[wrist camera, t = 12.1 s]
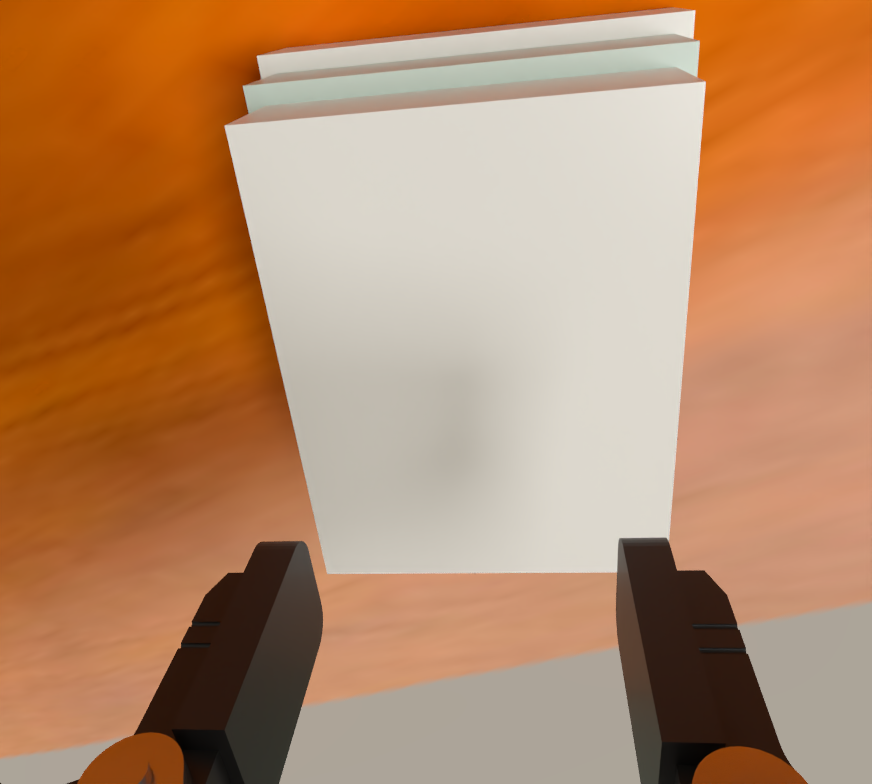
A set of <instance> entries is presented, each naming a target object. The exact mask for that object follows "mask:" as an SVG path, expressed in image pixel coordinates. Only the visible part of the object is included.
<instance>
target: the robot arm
mask: <svg viewBox="0 0 872 784" xmlns="http://www.w3.org/2000/svg"><path fill="white" fill-rule="evenodd" d="M616 623H617V635H618V644H619V651H620V656H621V663H622V669H623V675H624V681H625V688H626V694H627V700H628V706H629V713H630V718H631V725H632V731H633V737H634V743H635V750H636V756H637V762H638V768H639V774H640V781H641V784H808V783H807V782H806V781H805V780H804V779H803V777H802V776H801V775H800V774H799V773H797V771H795V770H794V768H793V767H792V766H791V764H790V763H789V761H788V760H787V758H786V756H785V755H784V753H783V750H782V748H781V746H780V743H779V740H778V738H777V735H776V732H775V729H774V726H773V723H772V721H771V718H770V715H769V712H768V709H767V707H766V704H765V701H764V698H763V695H762V693H761V690H760V687H759V684H758V682H757V678H756V676H755V673H754V670H753V667H752V664H751V662H750V659H749V656H748V654H746V647H745V645H744V642H743V639H742V636H741V633H740V630H738V628H737V622H736V619H735V616H734V613H733V611H732V608H731V605H730V602H729V599H728V597H727V595H726V594H725V592H724V591H723V590H722V589H721V588H720V587H719V586H718V585H717V584H716V583H715V582H714V581H713V579H712V578H711V577H710V576H709V575H708V574H707V573H706V572H705V571H677V569H676V565H675V562H674V558H673V555H672V551H671V548H670V544H669V542H668V539H667V538H666V537H661V538H619V542H618V561H617V592H616ZM322 628H323V612H322V605H321V601H320V596H319V592H318V588H317V584H316V580H315V576H314V572H313V567H312V563H311V559H310V555H309V551H308V548H307V545H306V544H305V543H304V542H303V541H282V542H260V543H258V544H257V546H256V547H255V549H254V551H253V553H252V556H251V558H250V560H249V562H248V564H247V566H246V568H245V571H244V573H228V574H227V575H226V576H225V577H224V578H223V579H222V580H221V581H220V582H219V583H217V584H216V585H215V586H214V587H213V588H212V589H211V590H210V591H209V592H208V593H207V594H206V595H205V597H204V599H203V601H202V603H201V605H200V607H199V609H198V611H197V613H196V615H195V617H194V619H193V620H192V627H189V628H188V630H187V632H186V634H185V636H184V638H183V640H182V642H181V648H180V649H178V650H177V652H176V654H175V656H174V658H173V660H172V662H171V664H170V666H169V668H168V670H167V672H166V674H165V676H164V677H163V679H162V681H161V683H160V685H159V687H158V689H157V691H156V693H155V695H154V697H153V699H152V701H151V703H150V705H149V707H148V709H147V711H146V713H145V715H144V717H143V719H142V721H141V723H140V725H139V727H138V729H137V730H136V732H135V734H134V735H133V736H130V737H127V738H125V739H123V740H121V741H119V742H117V743H115V744H113V745H112V746H110V747H109V748H107V749H106V750H105V751H103V752H102V753H101V754H100V755H99V756H98V757H96V758H95V760H94V761H92V762H91V764H90V765H89V766H88V767H87V769H86V770H85V771H84V773H83V774H82V776H81V778H80V779H79V780H76V781H73V782H70V783H67V784H279V781H280V778H281V775H282V771H283V768H284V764H285V761H286V758H287V754H288V751H289V747H290V744H291V741H292V737H293V734H294V730H295V727H296V724H297V720H298V717H299V714H300V710H301V707H302V703H303V700H304V697H305V693H306V690H307V686H308V683H309V680H310V676H311V673H312V669H313V666H314V663H315V659H316V656H317V653H318V649H319V646H320V642H321V637H322ZM0 784H1V783H0Z"/></svg>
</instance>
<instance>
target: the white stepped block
mask: <svg viewBox="0 0 872 784" xmlns="http://www.w3.org/2000/svg"><path fill="white" fill-rule="evenodd" d="M694 21H695V10H689V9H682V8H674V7H672V8H662V9H653V10H643V11H634V12H624V13H615V14H605V15H596V16H586V17H577V18H567V19H557V20H548V21H538V22H529V23H519V24H510V25H500V26H491V27H481V28H472V29H462V30H453V31H443V32H434V33H424V34H414V35H405V36H395V37H386V38H376V39H367V40H357V41H348V42H338V43H329V44H319V45H310V46H300V47H291V48H284V49H280V50H277V51H273V52H269V53H265V54H262V55H258V56H257V60H258V65H259V70H260V75H261V79H260V80H258V81H255V82H252V83H249V84H247V85H244V86H243V90H244V94H245V99H246V104H247V108H248V113H249V114H247V115H245V116H243V117H241V118H239V119H237V120H235V121H233V122H231V123H229V124H227V125H225V130H226V135H227V139H228V143H229V148H230V152H231V156H232V161H233V165H234V169H235V174H236V178H237V182H238V187H239V191H240V196H241V200H242V204H243V209H244V213H245V217H246V222H247V226H248V230H249V235H250V239H251V243H252V248H253V252H254V256H255V261H256V265H257V270H258V274H259V278H260V283H261V287H262V291H263V296H264V300H265V304H266V309H267V313H268V317H269V322H270V326H271V330H272V335H273V339H274V344H275V348H276V352H277V357H278V361H279V365H280V370H281V374H282V378H283V383H284V387H285V391H286V396H287V400H288V405H289V409H290V413H291V418H292V422H293V426H294V431H295V435H296V439H297V444H298V448H299V452H300V457H301V461H302V465H303V470H304V474H305V479H306V483H307V487H308V492H309V496H310V500H311V505H312V509H313V513H314V518H315V522H316V526H317V531H318V535H319V539H320V544H321V548H322V553H323V557H324V561H325V566H326V570H327V574H399V573H589V572H617V561H618V542H619V538H661V537H666V538H667V539H668V542H669V533H670V521H671V508H672V496H673V483H674V471H675V458H676V446H677V434H678V421H679V409H680V396H681V384H682V371H683V359H684V346H685V334H686V321H687V309H688V297H689V284H690V272H691V259H692V247H693V234H694V222H695V209H696V197H697V185H698V172H699V160H700V147H701V135H702V122H703V110H704V97H705V85H706V81H704V80H702V79H699V78H697V71H698V58H699V45H700V41H698V40H695V39H693V35H694Z"/></svg>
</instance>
